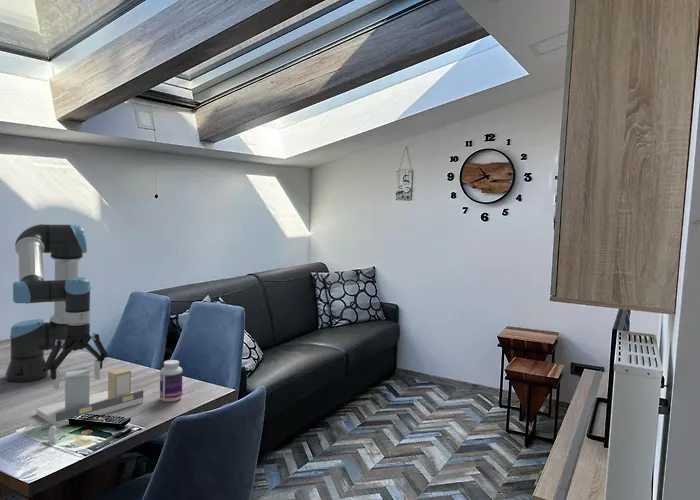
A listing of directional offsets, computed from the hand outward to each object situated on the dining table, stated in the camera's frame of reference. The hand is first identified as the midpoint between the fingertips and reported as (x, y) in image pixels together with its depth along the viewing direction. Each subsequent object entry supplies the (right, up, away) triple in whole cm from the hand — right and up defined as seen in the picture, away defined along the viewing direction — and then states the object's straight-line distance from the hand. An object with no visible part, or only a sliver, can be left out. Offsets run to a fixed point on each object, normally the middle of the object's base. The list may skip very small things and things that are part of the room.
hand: (77, 383), depth 172 cm
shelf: (+2, -11, +6) cm, 13 cm away
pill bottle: (+26, -11, +18) cm, 34 cm away
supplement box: (0, -9, 0) cm, 9 cm away
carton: (+9, -9, +12) cm, 17 cm away
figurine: (+4, -13, -21) cm, 25 cm away
